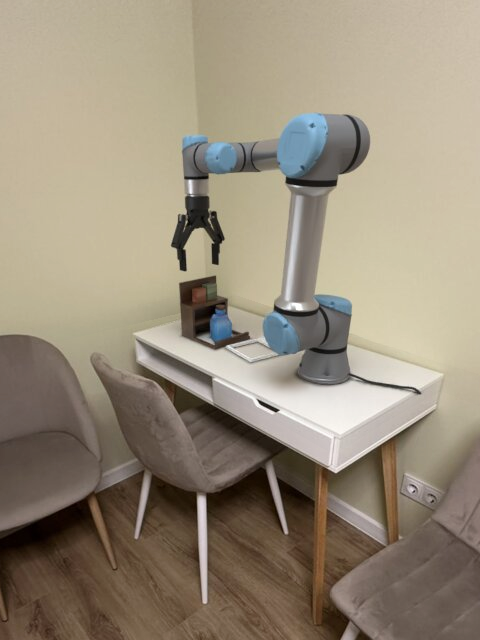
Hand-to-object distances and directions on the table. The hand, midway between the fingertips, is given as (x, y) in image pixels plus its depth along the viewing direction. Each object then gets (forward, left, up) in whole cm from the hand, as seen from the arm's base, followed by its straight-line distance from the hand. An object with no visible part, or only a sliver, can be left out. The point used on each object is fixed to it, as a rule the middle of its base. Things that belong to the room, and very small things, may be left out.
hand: (199, 267), depth 154 cm
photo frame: (-20, -9, -25) cm, 33 cm away
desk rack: (0, -6, -25) cm, 26 cm away
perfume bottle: (-3, -6, -25) cm, 26 cm away
